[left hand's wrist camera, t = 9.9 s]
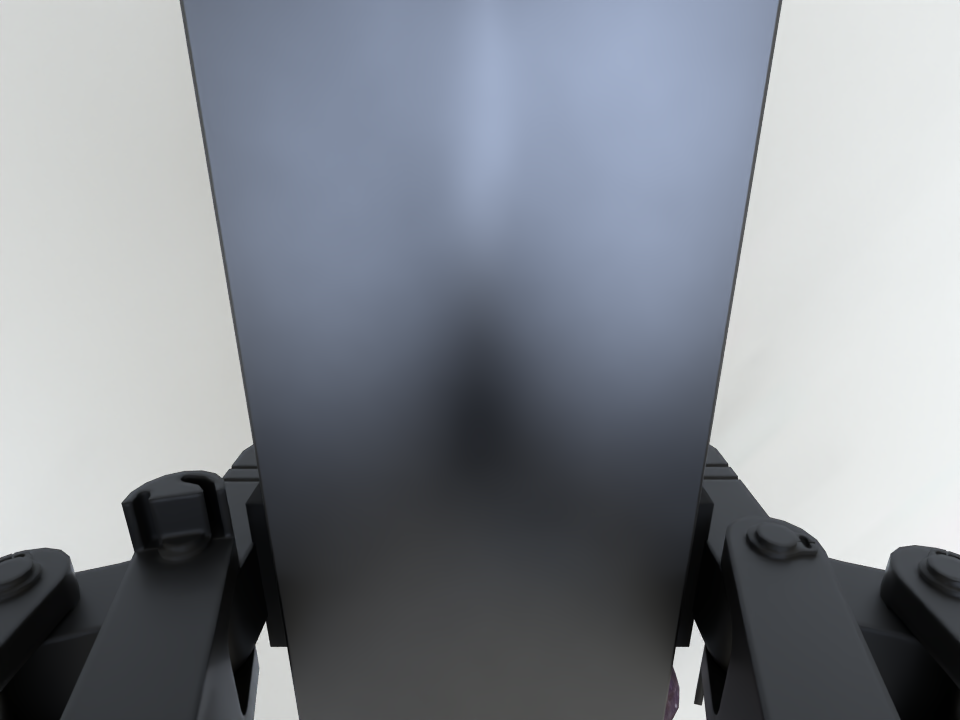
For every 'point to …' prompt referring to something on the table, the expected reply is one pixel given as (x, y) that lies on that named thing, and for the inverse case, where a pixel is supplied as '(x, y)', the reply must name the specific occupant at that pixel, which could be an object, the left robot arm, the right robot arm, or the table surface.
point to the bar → (481, 330)
